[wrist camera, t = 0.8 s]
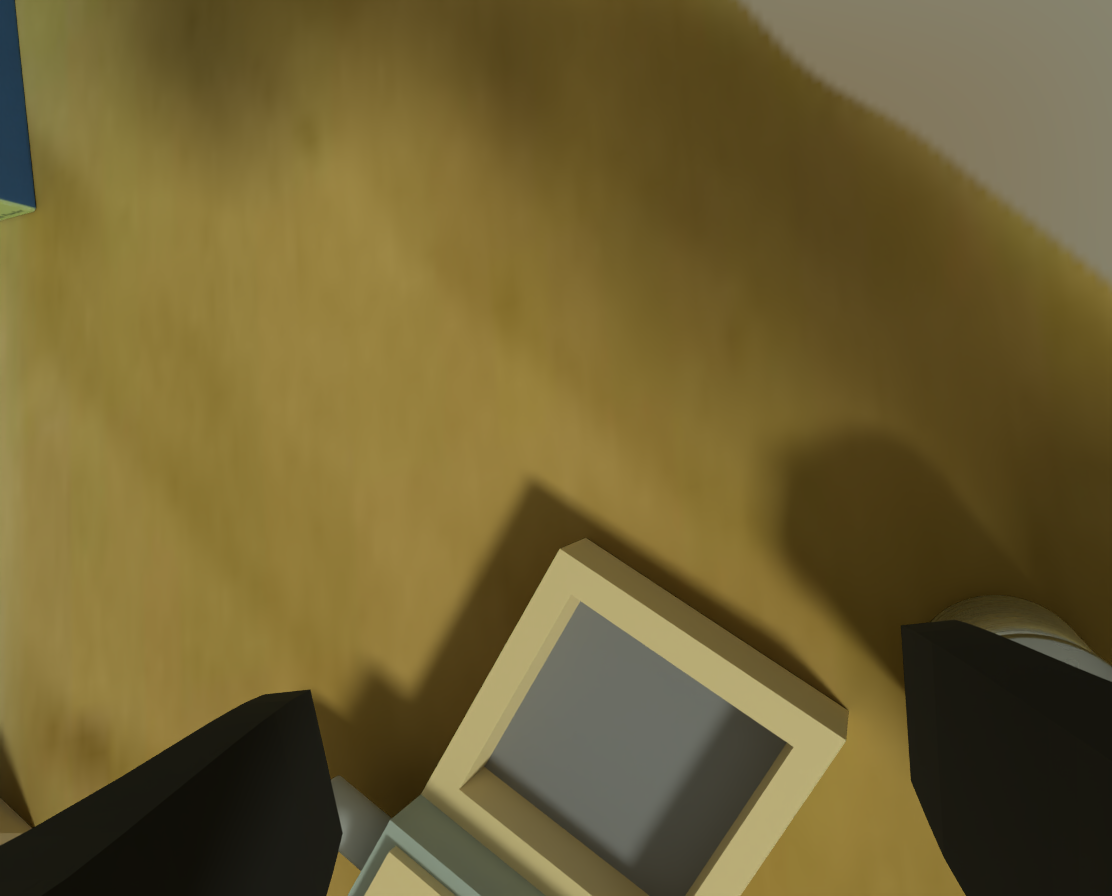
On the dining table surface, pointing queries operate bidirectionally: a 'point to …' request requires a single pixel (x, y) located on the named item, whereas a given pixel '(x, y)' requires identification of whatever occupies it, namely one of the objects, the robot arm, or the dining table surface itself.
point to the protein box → (13, 123)
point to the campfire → (10, 823)
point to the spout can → (1028, 629)
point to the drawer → (605, 756)
